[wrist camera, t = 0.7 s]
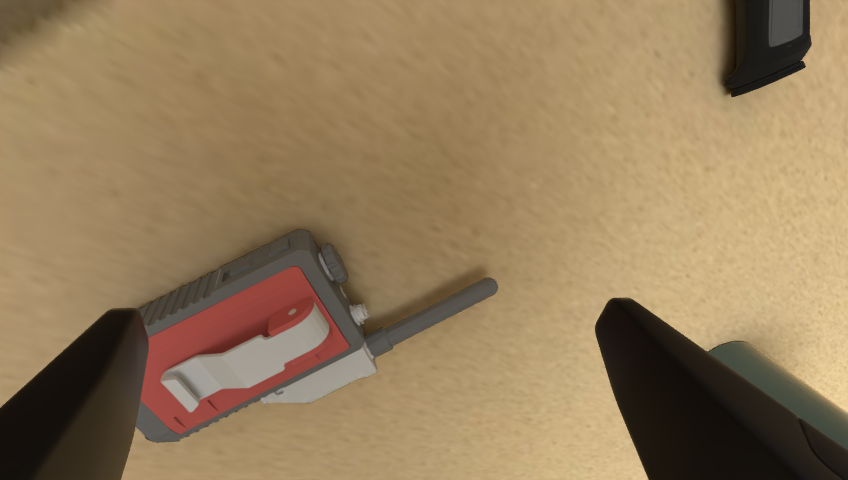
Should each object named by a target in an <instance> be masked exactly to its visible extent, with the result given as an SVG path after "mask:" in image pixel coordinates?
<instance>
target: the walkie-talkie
mask: <svg viewBox="0 0 848 480" xmlns="http://www.w3.org/2000/svg"><path fill="white" fill-rule="evenodd" d="M347 279H348V273H347V270H346V268H345V266H344V264H343V261H342V259H341V257H340V255H339V254H338V252H337V250H336V249H335V248H334V246H333V245H332V244H330V243H327V244H324V245H322V246H321V251H320V250H319V248H318V246H317V245H316V243H315V241H314V240H313V238H312V236H311V235H310V233H309V231H304V230H296V231H294V232H292V233H290V234H288V235H286V236H284V237H282V238H280V239H278V240H276V241H274V242H271V243H269V244H267V245H265V246H263V247H261V248H259V249H257V250H255V251H253V252H251V253H249V254H247V255H245V256H243V257H241V258H239V259H237V260H235V261H233V262H231V263H229V264H227V265H225V266H223V267H221V268H219V269H218V270H217V271H216V272H214V273H209V274H207V276H206V277H204V278H201V277H200V278H198V279H197V281H195V282H193V283H191V282H190V283H188V284H187V286H185V287H183V288H178V289H177V291H175V292H173V293H168V294H167V295H166V296H165V297H163V298H158V299H157V300H156V301H155V302H153V303H148V304H146V306H145V307H143V308H137V309H138V310H139V311H140V313H141V316H142V319H143V323H144V326H145V329H146V333H147V336H148V340H149V352H148V358H147V364H146V369H145V375H144V381H143V387H142V392H141V398H140V404H139V409H138V415H137V421H136V426H135V427H136V428H137V429H138V430H140V431H141V432H142V433H143V434H144V436H145V438H146V439H148V440H150V441H152V442H157V443H159V442H175V441H180V439H182V438H184V437H188V436H189V435H190V434H192V433H194V432H198V431H199V430H200V429H202V428H204V427H208V426H209V425H210V424H212V423H213V422H218V421H219V419H221V418H223V417H228V416H229V414H231V413H233V412H237V411H238V410H239V409H241V408H243V407H247V406H248V405H249V404H251V403H253V402H257V401H259V400H261V402H262V403H263V404H264V405H265V404H267V403H311V402H314V401H316V400H318V399H320V398H322V397H324V396H325V395H327V394H329V393H331V392H333V391H335V390H337V389H339V388H341V387H343V386H345V385H347V384H349V383H351V382H353V381H355V380H357V379H359V378H362V377H368V376H370V375H372V374H374V373H376V372H377V371H378V370H377V366H376V362H375V357H377V356H379V355H381V354H383V353H386V352H388V351H390V350H392V349H393V346H394V345H396V344H398V343H400V342H402V341H404V340H405V339H407V338H409V337H411V336H413V335H415V334H417V333H419V332H421V331H423V330H425V329H427V328H429V327H431V326H433V325H435V324H437V323H439V322H441V321H443V320H445V319H447V318H449V317H451V316H453V315H455V314H457V313H459V312H461V311H463V310H465V309H466V308H468V307H470V306H472V305H474V304H476V303H478V302H480V301H482V300H484V299H486V298H488V297H490V296H492V295H494V294H495V293H496V292H497V289H498V285H497V282H496V281H495V280H494V279H492V278H490V277H489V278H484V279H482V280H480V281H478V282H476V283H475V284H473V285H471V286H469V287H467V288H465V289H463V290H461V291H459V292H457V293H455V294H453V295H451V296H449V297H447V298H445V299H443V300H441V301H439V302H437V303H435V304H433V305H431V306H429V307H427V308H425V309H423V310H421V311H419V312H418V313H416V314H414V315H412V316H410V317H408V318H406V319H404V320H402V321H400V322H398V323H396V324H394V325H392V326H390V327H388V328H386V329H385V328H383V327H382V328H380V329H378V330H376V331H374V332H372V333H370V334H368V335H366V336H364V333H363V329H362V324H364V320H366V319H367V318H369V317H370V316H369V313H368V311H367V309H366V307H365V305H364V304H361V305H360V304H359V305H357V306H356V305H353V304H352V303H351V301H350V299H349V298H348V296H347V294H346V293H345V291H344V289H343V288H342V286H341V284H342V283H344V282H345V281H347ZM361 323H362V324H361Z"/></svg>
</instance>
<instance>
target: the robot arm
mask: <svg viewBox="0 0 848 480" xmlns="http://www.w3.org/2000/svg"><path fill="white" fill-rule="evenodd" d="M595 333H596V337H597V341H598V344H599V347H600V351H601V354H602V357H603V361H604V364H605V367H606V371H607V374H608V377H609V380H610V384H611V387H612V390H613V393H614V396H615V399H616V402H617V404H618V407H619V409H620V412H621V414H622V417H623V419H624V422H625V424H626V426H627V429H628V431H629V434H630V436H631V438H632V441H633V443H634V446H635V448H636V450H637V453H638V455H639V458H640V460H641V462H642V465H643V467H644V470H645V472H646V474H647V477H648V479H649V480H848V450H846V449H845V448H843V447H842V446H841V445H839V444H838V443H836V442H835V441H833V440H832V439H830V438H829V437H827V436H826V435H825V434H823V433H822V432H820V431H819V430H817V429H816V428H815V427H813V426H812V425H810V424H809V423H807V422H806V421H805V420H803V419H802V418H800V417H797V415H796V414H795V413H793V412H792V411H790V410H789V409H788V408H786V407H785V406H783V405H782V404H780V403H779V402H778V401H776V400H775V399H773V398H772V397H770V396H769V395H768V394H766V393H765V392H763V391H762V390H761V389H759V388H758V387H756V386H755V385H753V384H752V383H751V382H749V381H748V380H746V379H745V378H744V377H742V376H741V375H739V374H738V373H736V372H735V371H734V370H732V369H731V368H729V367H728V366H727V365H725V364H724V363H722V362H721V361H719V360H718V359H717V358H715V357H714V356H712V355H711V354H710V353H708V352H707V351H705V350H704V349H702V348H701V347H700V346H698V345H697V344H695V343H694V342H692V341H691V340H690V339H688V338H687V337H685V336H684V335H683V334H681V333H680V332H678V331H677V330H675V329H674V328H673V327H671V326H670V325H668V324H667V323H666V322H664V321H663V320H661V319H660V318H658V317H657V316H656V315H654V314H653V313H651V312H650V311H649V310H647V309H646V308H644V307H643V306H641V305H640V304H639V303H637V302H636V301H634V300H633V299H631V298H612V299H610V300H609V301H608V303H607V304H606V306H605V308H604V310H603V311H602V313H601V315H600V317H599V319H598V320H597V322H596V326H595ZM148 352H149V340H148V336H147V333H146V329H145V326H144V323H143V319H142V316H141V313H140V311H139V310H138V309H136V308H114V309H111V310H109V311H107V312H106V313H105V314H104V315H102V316H101V317H100V318H99V319H98V320H97V321H96V322H95V323H94V324H92V325H91V326H90V327H89V328H88V329H87V330H86V331H85V332H84V333H82V334H81V335H80V336H79V337H78V338H77V339H76V340H75V341H74V342H73V343H71V344H70V345H69V346H68V347H67V348H66V349H65V350H64V351H63V352H61V353H60V354H59V355H58V356H57V357H56V358H55V359H54V360H53V361H52V362H50V363H49V364H48V365H47V366H46V367H45V368H44V369H43V370H42V371H40V372H39V373H38V374H37V375H36V376H35V377H34V378H33V379H32V380H31V381H29V382H28V383H27V384H26V385H25V386H24V387H23V388H22V389H21V390H19V391H18V392H17V393H16V394H15V395H14V396H13V397H12V398H11V399H9V400H8V401H7V402H6V403H5V404H4V405H3V406H2V407H1V408H0V480H121V477H122V474H123V471H124V467H125V464H126V461H127V458H128V454H129V451H130V447H131V444H132V440H133V436H134V431H135V426H136V421H137V415H138V409H139V404H140V398H141V392H142V387H143V381H144V375H145V369H146V364H147V358H148Z"/></svg>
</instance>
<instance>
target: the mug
mask: <svg viewBox="0 0 848 480" xmlns="http://www.w3.org/2000/svg"><path fill="white" fill-rule="evenodd" d="M708 353H710V354H711V355H712V356H714V357H715V358H717V359H718V360H719V361H721V362H722V363H724V364H725V365H727V366H728V367H729V368H731V369H732V370H734V371H735V372H736V373H738V374H739V375H741V376H742V377H744V378H745V379H746V380H748V381H749V382H751V383H752V384H753V385H755V386H756V387H758V388H759V389H761V390H762V391H763V392H765V393H766V394H768V395H769V396H770V397H772V398H773V399H775V400H776V401H778V402H779V403H780V404H782V405H783V406H785V407H786V408H788V409H789V410H790V411H792V412H793V413H795V414H796V415H797V417H800V418H802V419H803V420H805V421H806V422H807V423H809V424H810V425H812V426H813V427H815V428H816V429H817V430H819V431H820V432H822V433H823V434H825V435H826V436H827V437H829V438H830V439H832V440H833V441H835V442H836V443H838V444H839V445H841V446H842V447H843V448H845V449H846V450H848V413H847V412H846V411H845V410H843V409H842V408H840V407H839V406H838V405H836V404H835V403H833V402H832V401H830V400H829V399H828V398H826V397H825V396H823V395H822V394H821V393H819V392H818V391H816V390H815V389H813V388H812V387H811V386H809V385H808V384H806V383H805V382H804V381H802V380H801V379H799V378H798V377H797V376H795V375H794V374H792V373H791V372H789V371H788V370H787V369H785V368H784V367H782V366H781V365H780V364H778V363H777V362H775V361H774V360H772V359H771V358H770V357H768V356H767V355H765V354H764V353H763V352H761V351H760V350H758V349H757V348H755V347H754V346H753V345H751V344H749V343H747V342H741V341H736V342H729V343H726V344H723V345H721V346H718V347H716V348H714V349H713V350H711V351H710V352H708Z"/></svg>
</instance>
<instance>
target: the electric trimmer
mask: <svg viewBox="0 0 848 480" xmlns="http://www.w3.org/2000/svg"><path fill="white" fill-rule="evenodd" d="M811 45H812V43H811V36H810V0H736V47H737V68H736V70H735V71H734V73H733V74H732V75H731V76H729V77H728V78H726V79H725V86H727V87H730V88H733V89H732V90H731V94H730V95H731V97H735V96H739V95H742V94H745V93H748V92H750V91H753V90H756V89H758V88H761V87H763V86H766V85H768V84H770V83H773V82H775V81H777V80H779V79H782V78H784V77H786V76H788V75H791V74H793V73H795V72H797V71H799V70H801V69H803V68H805V67H806V66H805V64H804V61H801V60H802V59H803V57H804V56H805V54H806V53H807V51H808V50H809V48H810V47H811Z"/></svg>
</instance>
